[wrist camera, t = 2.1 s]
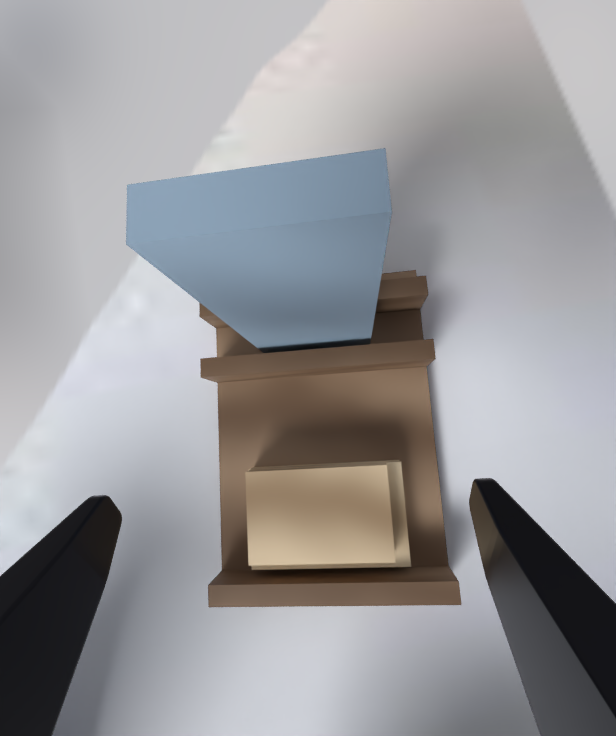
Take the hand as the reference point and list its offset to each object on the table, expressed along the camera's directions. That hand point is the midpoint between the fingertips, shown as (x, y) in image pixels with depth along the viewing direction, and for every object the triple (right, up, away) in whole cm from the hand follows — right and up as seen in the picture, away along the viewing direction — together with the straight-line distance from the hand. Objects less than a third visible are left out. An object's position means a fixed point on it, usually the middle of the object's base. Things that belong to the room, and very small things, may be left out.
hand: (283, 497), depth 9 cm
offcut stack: (+2, -5, +11) cm, 12 cm away
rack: (+2, 0, +13) cm, 13 cm away
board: (+1, +5, +13) cm, 14 cm away
